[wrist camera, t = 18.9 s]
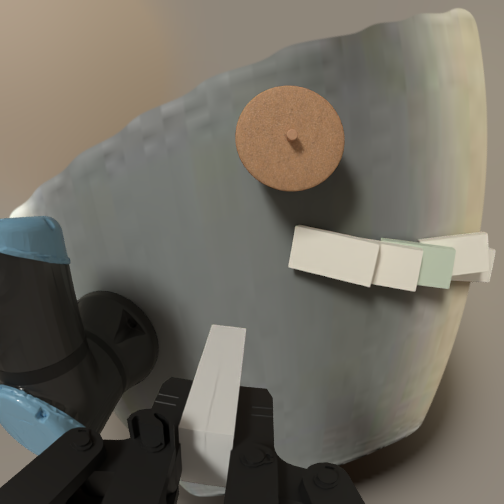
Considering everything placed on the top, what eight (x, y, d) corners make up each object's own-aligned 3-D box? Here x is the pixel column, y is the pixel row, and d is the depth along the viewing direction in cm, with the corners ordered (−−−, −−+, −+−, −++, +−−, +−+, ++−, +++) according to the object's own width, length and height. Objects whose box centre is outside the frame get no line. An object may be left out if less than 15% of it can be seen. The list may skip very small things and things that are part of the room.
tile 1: (288, 267, 38) (369, 287, 35) (295, 226, 37) (379, 244, 34) (292, 263, 40) (370, 282, 37) (299, 224, 39) (379, 242, 36)
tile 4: (422, 279, 38) (488, 270, 34) (419, 241, 37) (487, 233, 33) (420, 275, 40) (484, 267, 36) (417, 239, 39) (483, 231, 35)
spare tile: (375, 279, 38) (449, 289, 35) (380, 240, 37) (456, 250, 34) (376, 274, 40) (446, 284, 37) (381, 237, 39) (452, 247, 35)
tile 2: (336, 277, 39) (415, 291, 35) (342, 237, 37) (423, 251, 34) (339, 273, 40) (414, 286, 37) (344, 235, 39) (421, 247, 35)
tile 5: (440, 280, 39) (489, 282, 38) (446, 244, 37) (495, 250, 37) (433, 275, 41) (482, 278, 40) (439, 241, 39) (488, 247, 39)
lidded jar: (336, 114, 36) (358, 97, 27) (318, 197, 38) (335, 204, 29) (251, 94, 36) (247, 70, 27) (232, 178, 38) (222, 178, 29)
